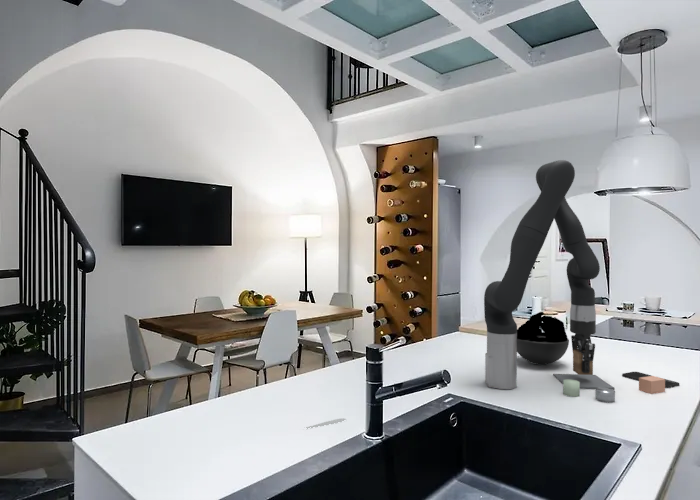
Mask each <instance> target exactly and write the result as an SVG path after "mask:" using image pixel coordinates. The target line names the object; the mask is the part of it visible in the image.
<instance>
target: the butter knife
mask: <svg viewBox="0 0 700 500" xmlns="http://www.w3.org/2000/svg"><path fill="white" fill-rule="evenodd" d="M344 420H346V421H347V419H346V418H337V419H333V420H332V419H331V420H328V421H324V422H321V423H320V422H319V423H318V424H313V425H310V426H306V428H307V429H306V430H309V429H308V428H310V427H311V428H310V429H314V428H313V427H315V428H319V427H318V426H320V427H325V426H324V425H326V426H330V425H329V424H331V425H335V424H339V423H338V422H340V423H343V422H342V421H344ZM344 422H345V421H344ZM334 423H335V424H334Z"/></svg>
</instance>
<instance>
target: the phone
mask: <svg viewBox="0 0 700 500" xmlns="http://www.w3.org/2000/svg"><path fill="white" fill-rule="evenodd" d="M621 376H622V378H625V379H628V380H629V379H630V380H632V381H637V382H639V378H641V377H648V376H652V375H651V374H647V373H643V372H639V371H631V372H625V373H621ZM661 378H662V377H661ZM662 379H665V389H672V388H676V387H680V382H677V381H675V380H674V381H673V380H670V379H666V378H662Z"/></svg>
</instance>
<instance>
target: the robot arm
mask: <svg viewBox="0 0 700 500" xmlns="http://www.w3.org/2000/svg"><path fill="white" fill-rule="evenodd" d="M573 165H574V164H572V162H570V161H568V160H566V159H565V160H564V159H560V160H555V161H551V162H548V163H545V164H542V165H541V166H540V167H539V168H538V169H537V170H536V173H535V181H536V184H537V186H538V188H539V191H540V193H539V195H538V198H537V199H536V200H535V202H534V203H533V204H532V206H531V207H529V209H528V210H527V211H526V213H525V214H524V216H523V217H522V218H521V220H520V221H519V224H518V225H517V227H516V229H515V231H514V235H513V237H512V239H511V243H510V251H509V252H510V253H509V262H508V266H507V269H506V271H505V273H504V276H503V277H502V278H501V279H502V280H497V281H492V282H491V283H489V284H488V285H487V287H486V288H485V290H484V298H483V300H484V301H483V302H484V303H483V304H484V305H483V307H484V308H483V309H484V322H485V324H486V352H485V353H484V354H485V356H484V357H485V359H484V360H485V361H484V365H485V366H484V367H485V368H484V374H485V375H484V382H485V384H486V385H487V387H488V388H494V389H500V390H514V389H516V388H517V385H518V384H517V383H518V379H517V377H518V352H517V329H518V324H517V322H516V321H515V319H514V317H513V311H514V312H515V310H516V309H517V308H518V307H519V306H520V304H521V302H522V300H523V297H524V294H525V292H526V287H527V285H528V281H529V277H530V275H531V273H532V270H533V268H534V265H535V264H536V261H537V259H538V257H539V254H540V253H541V252H540V251H541V250H542V248H543V246H544V243H545V242H546V240H547V237H548V233H549V232H550V229H551V227H552V225H553V222H554V221H555V224H556V227H557V229H558V232H559V235H560V236H559V237H560V239H561V243H562V246H563V248H564V250H565V251H566V252H567V253H569V254H571V255H572V256H573V257H572V258H571V259H569V261H568V263H567V265H566V277H567V280H568V285H569V288H570V307H569V308H570V309H569V310H570V311H569V331H570V332H571V333H573V334H574V335H570V339H571V347H572V350H571V351H573V350H579V353H581V357H582V372H583V373H589V372H590V361H593V362H594V357H595V350H596V344H595V343H592V338H591V335H595V334H596V330H597V328H596V327H597V326H596V324H597V322H596V318H597V316H596V315H597V312H596V311H597V310H596V292H595V289H594V288H593V287H592V286H590V285H589V282H588V281H589V280H590V281H591V280H593V279H596V278H597V277H598V276H599V274H600V270H601V267H600V262H599V259H598V257H597V256H596V253H594V251H593V249H592V248H591V246H590V245H589V244H588V243H589V242H588V241H587V240H588V239H587V237H586V234H585V231H584V227H583V225H582V222H581V221H580V219H579V217H578V216H577V214H576V212H574V210H573V209H572V208H571V206H570V205H569V203H568V201H567V199H566V196H567V194H568V191H570V188H571V187H572V184H573V183H574V179H575V175H576V173H575V172H576V170H575V168H574V166H573ZM583 350H585V351H583ZM590 354H591V355H590ZM587 355H588V357H587Z"/></svg>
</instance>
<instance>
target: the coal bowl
mask: <svg viewBox="0 0 700 500" xmlns="http://www.w3.org/2000/svg"><path fill="white" fill-rule="evenodd" d="M569 344H570V339H569V338H568V335H567V332H566V328H565V323H564V322H563V321H562V320H560V319H559V318H557V317H556V316H551V315H545V313H544V311H539V312H537V313H535V314H532V315H531V316H530V317H529V319H528V320H527V321H525V322H524V323H522V324H521V325H520V326H519V327H517V355H519V356H520V357H521V358H523V360H525V361H527V362H529V363H531V364H534V365H542V366H545V365H551V364H553V363H555V362H557V361H559V360H560V359H561V358H562V357H564V355H565V354H566V352H567V350H568V348H569Z"/></svg>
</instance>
